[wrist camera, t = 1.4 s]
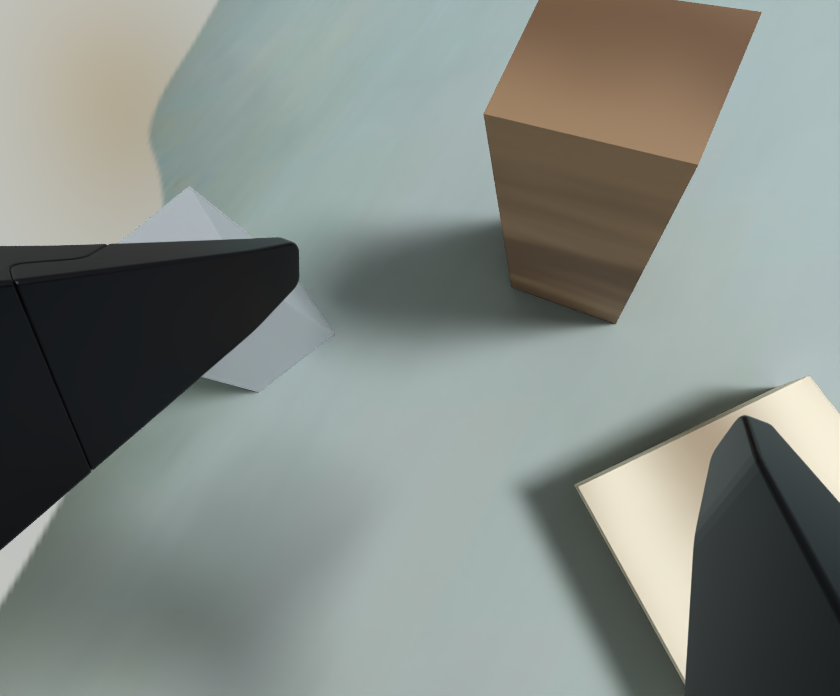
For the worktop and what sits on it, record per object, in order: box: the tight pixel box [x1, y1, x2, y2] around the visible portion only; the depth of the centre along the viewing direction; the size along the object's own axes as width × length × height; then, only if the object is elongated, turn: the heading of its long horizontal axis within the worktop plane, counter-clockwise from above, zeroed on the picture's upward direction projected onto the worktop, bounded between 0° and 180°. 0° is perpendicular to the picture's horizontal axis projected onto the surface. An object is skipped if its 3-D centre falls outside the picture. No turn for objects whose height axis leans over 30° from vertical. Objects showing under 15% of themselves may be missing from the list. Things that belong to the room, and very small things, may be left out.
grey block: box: [118, 186, 334, 392], centre depth 22 cm, size 5×5×8 cm
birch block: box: [574, 376, 840, 685], centre depth 17 cm, size 9×9×3 cm
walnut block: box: [484, 0, 762, 324], centre depth 17 cm, size 4×5×12 cm
